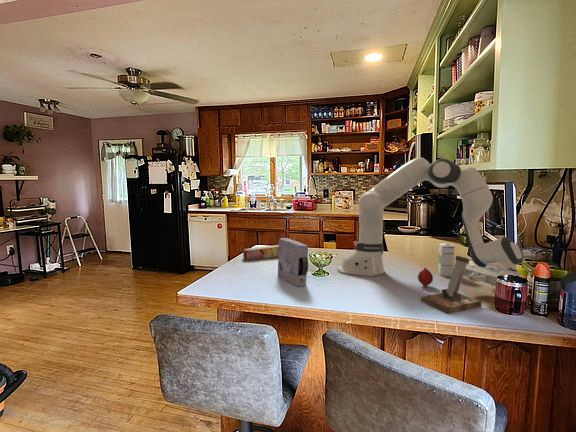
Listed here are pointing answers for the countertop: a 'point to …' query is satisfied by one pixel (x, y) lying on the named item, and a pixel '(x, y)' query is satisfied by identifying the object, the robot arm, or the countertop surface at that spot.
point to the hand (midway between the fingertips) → (471, 278)
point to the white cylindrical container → (446, 259)
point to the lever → (456, 276)
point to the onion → (425, 277)
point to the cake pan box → (293, 261)
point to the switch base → (450, 302)
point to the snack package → (261, 252)
